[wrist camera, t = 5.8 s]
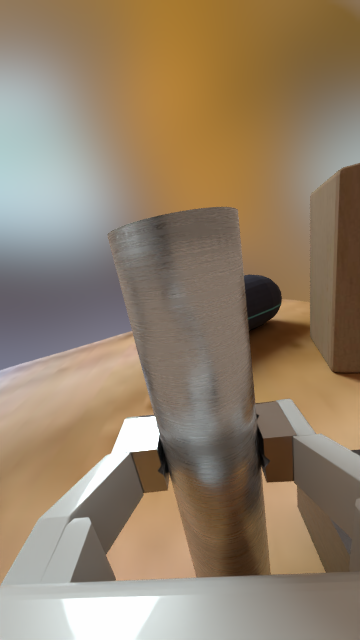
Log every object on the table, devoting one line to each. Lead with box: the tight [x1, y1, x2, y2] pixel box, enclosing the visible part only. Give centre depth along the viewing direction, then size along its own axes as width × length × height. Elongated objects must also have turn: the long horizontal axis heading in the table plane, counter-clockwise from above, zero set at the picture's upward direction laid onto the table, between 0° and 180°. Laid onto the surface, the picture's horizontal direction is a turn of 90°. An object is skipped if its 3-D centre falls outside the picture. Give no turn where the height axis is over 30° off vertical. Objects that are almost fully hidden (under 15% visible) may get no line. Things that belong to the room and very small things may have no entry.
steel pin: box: [108, 207, 271, 578], centre depth 8 cm, size 3×3×16 cm
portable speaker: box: [244, 275, 282, 330], centre depth 37 cm, size 25×10×10 cm, turn 120°
